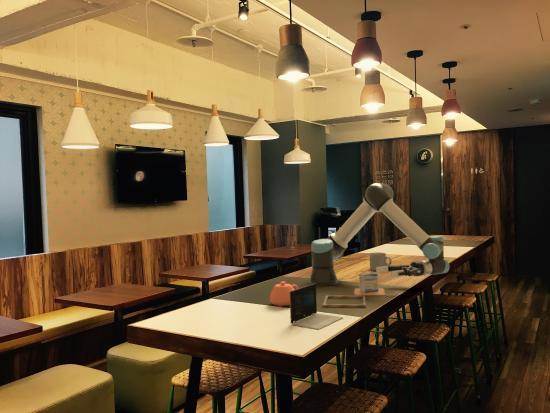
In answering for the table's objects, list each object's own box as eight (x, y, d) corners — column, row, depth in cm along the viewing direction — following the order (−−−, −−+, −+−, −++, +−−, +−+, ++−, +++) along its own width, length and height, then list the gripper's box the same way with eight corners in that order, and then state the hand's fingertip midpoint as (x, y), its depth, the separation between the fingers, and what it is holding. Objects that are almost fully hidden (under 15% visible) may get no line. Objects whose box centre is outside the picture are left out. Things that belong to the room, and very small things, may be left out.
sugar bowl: (266, 303, 208) (265, 280, 207) (294, 299, 213) (293, 277, 212) (275, 309, 196) (274, 285, 196) (305, 305, 201) (304, 282, 201)
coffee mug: (367, 270, 285) (366, 254, 285) (373, 267, 293) (373, 252, 293) (388, 271, 277) (387, 255, 277) (393, 269, 286) (393, 253, 285)
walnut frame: (322, 307, 196) (322, 304, 196) (326, 297, 214) (326, 295, 214) (365, 307, 193) (365, 305, 193) (365, 297, 211) (365, 295, 211)
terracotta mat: (354, 295, 216) (354, 294, 216) (354, 289, 230) (354, 288, 230) (384, 295, 214) (384, 294, 214) (383, 289, 228) (383, 288, 227)
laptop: (318, 331, 164) (317, 294, 163) (290, 326, 171) (289, 291, 171) (343, 319, 178) (342, 285, 178) (316, 315, 186) (315, 283, 185)
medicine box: (364, 293, 219) (363, 275, 218) (359, 291, 223) (358, 273, 223) (378, 291, 221) (378, 273, 221) (373, 289, 226) (373, 272, 225)
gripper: (436, 279, 219) (398, 284, 213) (406, 272, 243) (370, 275, 236) (436, 264, 219) (398, 268, 212) (405, 258, 243) (370, 261, 236)
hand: (383, 272), depth 224 cm, fingers open, 13 cm apart
